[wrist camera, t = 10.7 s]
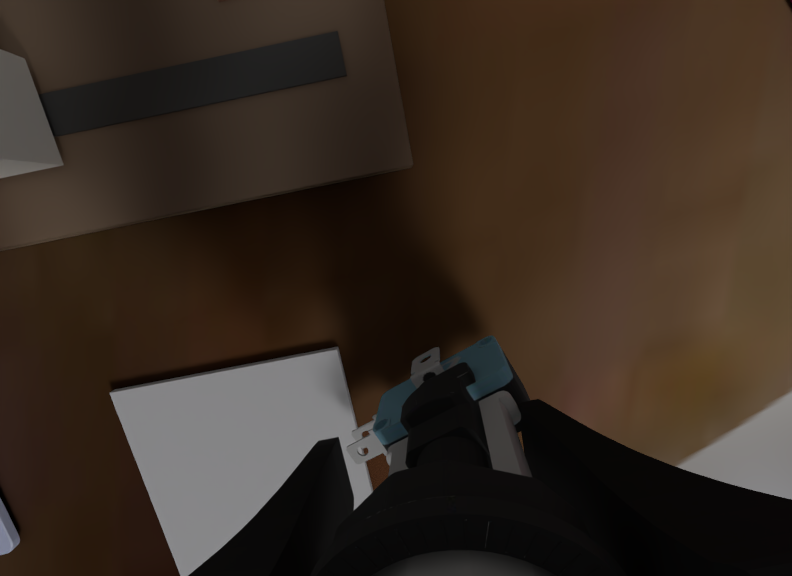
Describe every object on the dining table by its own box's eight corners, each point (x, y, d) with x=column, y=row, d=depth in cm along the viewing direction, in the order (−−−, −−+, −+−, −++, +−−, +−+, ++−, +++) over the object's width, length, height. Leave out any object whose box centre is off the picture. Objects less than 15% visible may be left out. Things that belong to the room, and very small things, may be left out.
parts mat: (198, 607, 18) (195, 614, 18) (114, 389, 16) (109, 393, 15) (393, 573, 18) (393, 579, 18) (338, 346, 16) (336, 349, 15)
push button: (394, 482, 16) (333, 938, 6) (318, 374, 15) (112, 707, 5) (548, 408, 15) (779, 841, 5) (475, 285, 14) (576, 515, 4)
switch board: (-23, 255, 15) (-72, 262, 13) (-114, 45, 13) (-182, 24, 11) (410, 168, 14) (413, 164, 13) (369, -60, 13) (367, -97, 11)
